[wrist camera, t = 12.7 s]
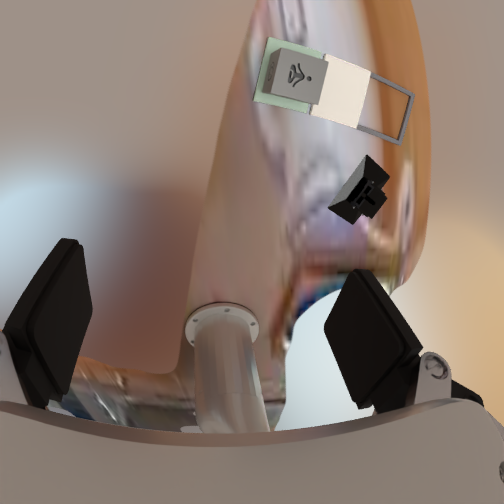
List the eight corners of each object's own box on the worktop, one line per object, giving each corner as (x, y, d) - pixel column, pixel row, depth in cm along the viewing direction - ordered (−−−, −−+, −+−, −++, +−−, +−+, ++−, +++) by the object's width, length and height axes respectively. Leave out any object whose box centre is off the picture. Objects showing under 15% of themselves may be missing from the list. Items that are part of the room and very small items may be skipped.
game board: (399, 145, 34) (401, 146, 34) (252, 100, 29) (253, 100, 29) (413, 94, 30) (415, 94, 29) (268, 37, 25) (269, 37, 25)
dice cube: (270, 53, 26) (281, 47, 22) (312, 64, 27) (328, 61, 23) (261, 92, 28) (270, 92, 24) (303, 102, 29) (318, 105, 25)
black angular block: (367, 142, 34) (384, 150, 30) (397, 171, 37) (415, 182, 33) (315, 212, 39) (326, 227, 35) (349, 234, 42) (362, 250, 38)
